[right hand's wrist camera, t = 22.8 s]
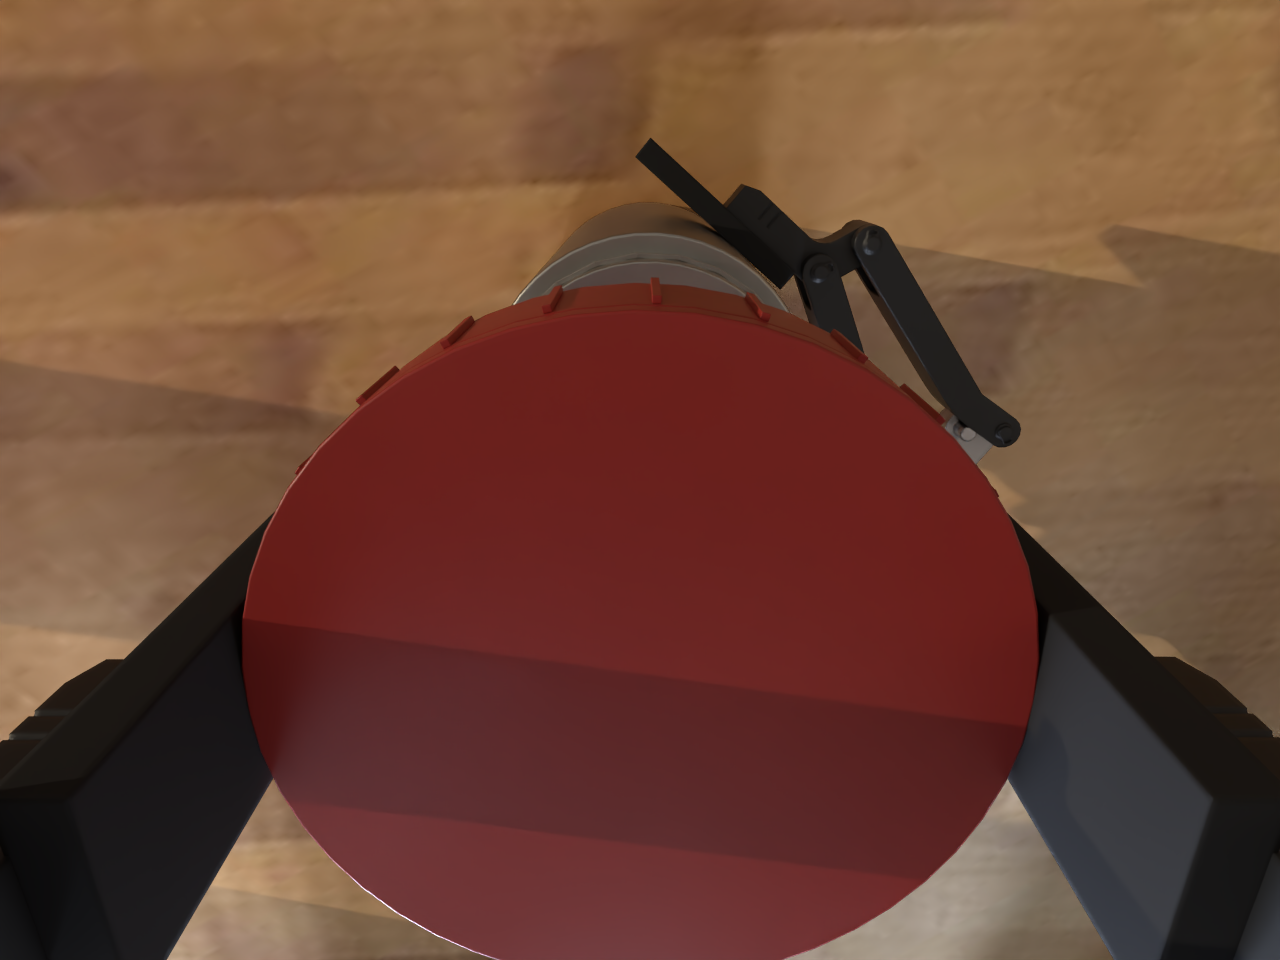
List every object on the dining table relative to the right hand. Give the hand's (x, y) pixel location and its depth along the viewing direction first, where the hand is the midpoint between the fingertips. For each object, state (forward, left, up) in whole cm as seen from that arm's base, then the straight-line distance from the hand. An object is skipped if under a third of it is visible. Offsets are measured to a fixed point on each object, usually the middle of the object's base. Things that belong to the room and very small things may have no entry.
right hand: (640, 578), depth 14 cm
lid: (0, 0, +3) cm, 3 cm away
